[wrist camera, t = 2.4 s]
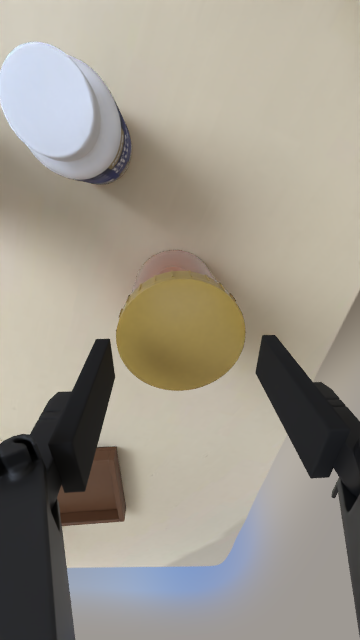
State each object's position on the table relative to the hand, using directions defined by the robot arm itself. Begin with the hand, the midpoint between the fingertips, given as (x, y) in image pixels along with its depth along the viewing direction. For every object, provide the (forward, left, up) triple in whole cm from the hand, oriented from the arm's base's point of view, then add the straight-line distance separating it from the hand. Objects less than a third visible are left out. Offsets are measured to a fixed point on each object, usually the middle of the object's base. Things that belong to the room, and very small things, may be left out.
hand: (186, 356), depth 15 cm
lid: (0, 0, -2) cm, 2 cm away
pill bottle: (-6, +12, -12) cm, 18 cm away
